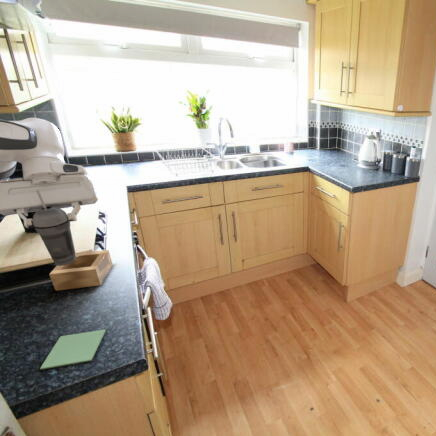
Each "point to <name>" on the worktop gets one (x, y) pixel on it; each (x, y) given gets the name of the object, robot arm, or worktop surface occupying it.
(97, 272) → the holder
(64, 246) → the beverage cup
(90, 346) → the mat
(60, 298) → the worktop surface
